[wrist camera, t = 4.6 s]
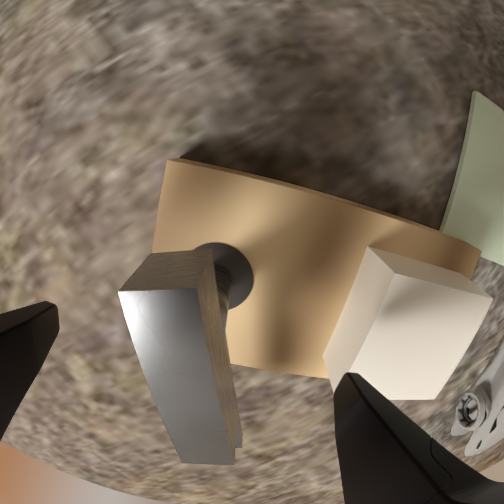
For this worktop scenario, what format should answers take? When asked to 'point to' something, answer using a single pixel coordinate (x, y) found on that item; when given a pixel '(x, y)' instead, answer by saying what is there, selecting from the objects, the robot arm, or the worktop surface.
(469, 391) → the car model
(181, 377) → the lever handle
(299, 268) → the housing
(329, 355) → the cover
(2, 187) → the worktop surface
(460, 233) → the pad
